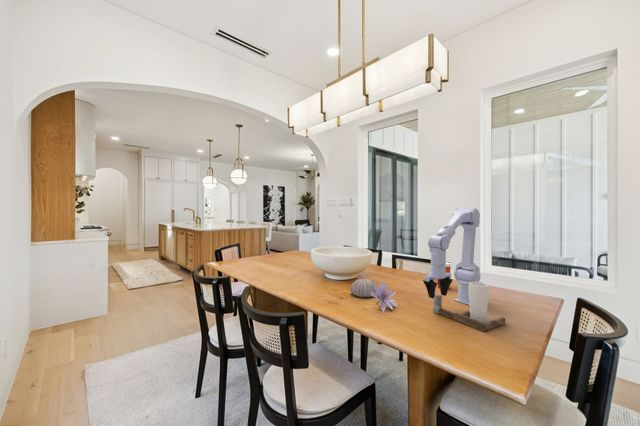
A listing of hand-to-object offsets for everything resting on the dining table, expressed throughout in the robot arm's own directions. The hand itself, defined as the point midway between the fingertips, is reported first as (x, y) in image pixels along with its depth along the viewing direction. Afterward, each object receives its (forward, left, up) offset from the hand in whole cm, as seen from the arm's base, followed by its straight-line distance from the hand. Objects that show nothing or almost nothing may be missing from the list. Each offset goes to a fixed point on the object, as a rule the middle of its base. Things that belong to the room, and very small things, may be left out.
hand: (437, 296), depth 114 cm
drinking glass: (-5, +14, -7) cm, 17 cm away
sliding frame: (-6, +9, -7) cm, 13 cm away
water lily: (+16, -15, -7) cm, 23 cm away
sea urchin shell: (+13, -34, -7) cm, 37 cm away
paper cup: (-34, -23, -7) cm, 42 cm away
